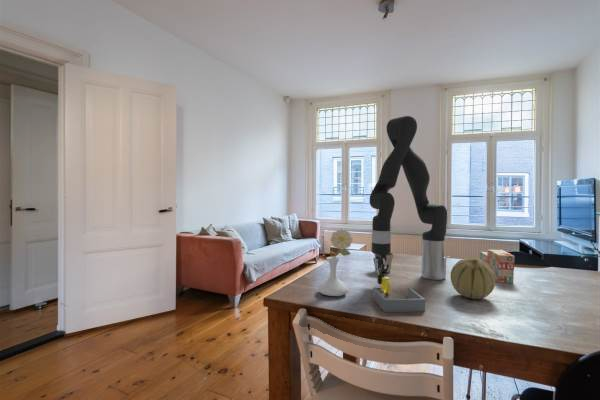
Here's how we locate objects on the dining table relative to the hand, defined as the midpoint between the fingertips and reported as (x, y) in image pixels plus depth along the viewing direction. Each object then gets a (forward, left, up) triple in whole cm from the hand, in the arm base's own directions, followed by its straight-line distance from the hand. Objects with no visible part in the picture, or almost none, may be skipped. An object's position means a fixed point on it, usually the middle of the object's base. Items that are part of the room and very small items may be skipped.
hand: (380, 283), depth 126 cm
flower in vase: (+20, +7, -2) cm, 21 cm away
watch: (0, +6, -2) cm, 6 cm away
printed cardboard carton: (-58, -13, -2) cm, 60 cm away
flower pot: (-9, -24, -2) cm, 26 cm away
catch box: (0, +18, -2) cm, 18 cm away
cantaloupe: (-30, +13, -2) cm, 33 cm away
